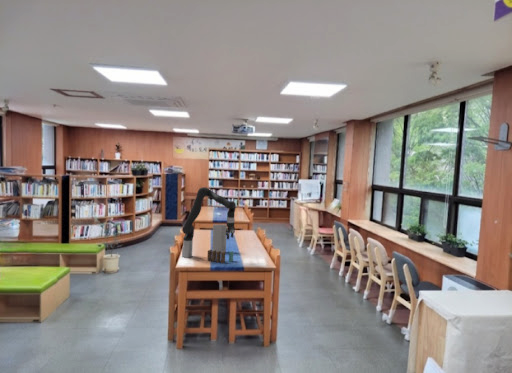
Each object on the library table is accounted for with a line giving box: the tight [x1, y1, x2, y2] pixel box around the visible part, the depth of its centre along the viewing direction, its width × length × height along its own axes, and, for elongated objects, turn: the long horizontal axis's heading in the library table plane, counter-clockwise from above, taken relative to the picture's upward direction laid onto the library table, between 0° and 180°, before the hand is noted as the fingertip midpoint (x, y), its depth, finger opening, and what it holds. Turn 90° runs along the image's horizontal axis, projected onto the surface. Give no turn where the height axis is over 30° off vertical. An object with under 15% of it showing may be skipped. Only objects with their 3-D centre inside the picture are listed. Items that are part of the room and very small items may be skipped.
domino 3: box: [215, 251, 221, 263], centre depth 304 cm, size 2×5×10 cm, turn 158°
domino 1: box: [206, 249, 212, 262], centre depth 308 cm, size 2×5×10 cm, turn 158°
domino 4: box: [220, 252, 226, 264], centre depth 303 cm, size 2×5×10 cm, turn 158°
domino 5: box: [228, 250, 234, 263], centre depth 308 cm, size 2×5×10 cm, turn 158°
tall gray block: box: [211, 224, 228, 254], centre depth 338 cm, size 14×6×30 cm, turn 103°
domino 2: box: [211, 250, 217, 263], centre depth 306 cm, size 2×5×10 cm, turn 158°
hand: (230, 238), depth 304 cm, fingers open, 8 cm apart
